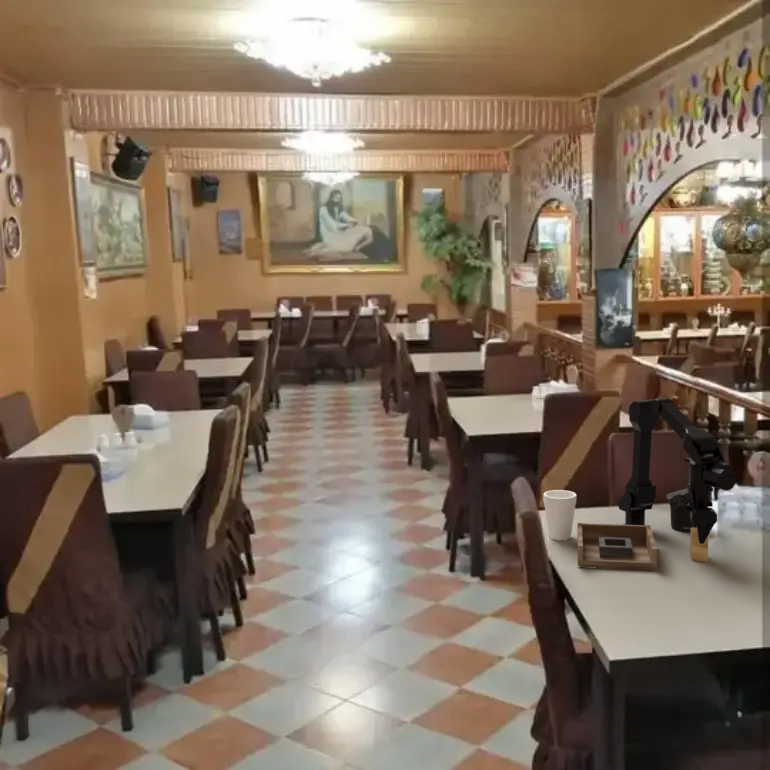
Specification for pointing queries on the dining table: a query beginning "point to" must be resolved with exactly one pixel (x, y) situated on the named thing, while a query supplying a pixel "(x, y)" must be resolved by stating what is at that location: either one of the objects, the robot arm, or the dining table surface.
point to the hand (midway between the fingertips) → (699, 537)
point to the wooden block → (698, 547)
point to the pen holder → (681, 519)
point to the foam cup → (559, 513)
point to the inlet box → (616, 546)
